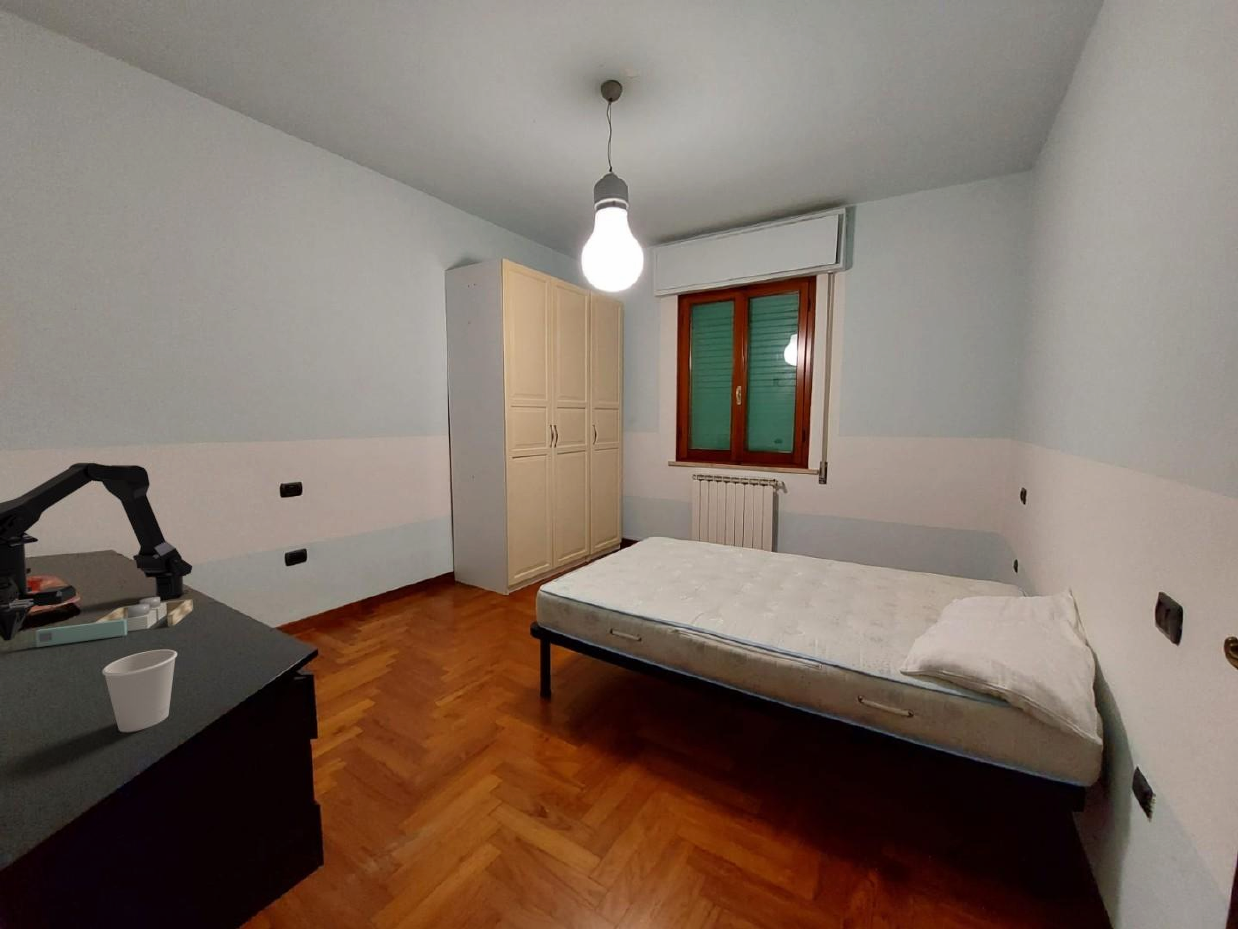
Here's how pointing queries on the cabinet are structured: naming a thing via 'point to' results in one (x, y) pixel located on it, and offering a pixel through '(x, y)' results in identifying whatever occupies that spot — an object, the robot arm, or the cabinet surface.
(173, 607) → the housing
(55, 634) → the panel
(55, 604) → the robot arm
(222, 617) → the cabinet surface
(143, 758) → the cabinet surface
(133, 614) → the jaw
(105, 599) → the cabinet surface
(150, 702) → the dixie cup
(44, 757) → the cabinet surface
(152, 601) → the jaw
